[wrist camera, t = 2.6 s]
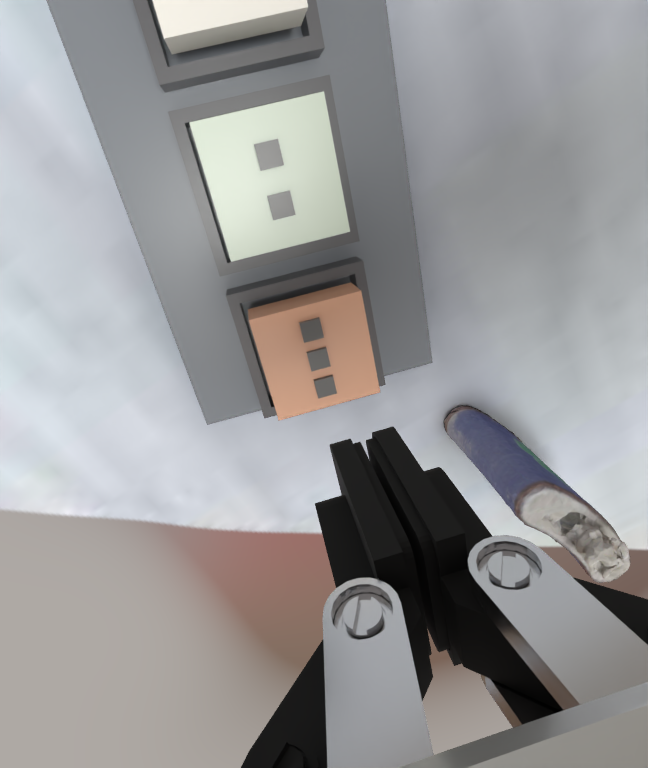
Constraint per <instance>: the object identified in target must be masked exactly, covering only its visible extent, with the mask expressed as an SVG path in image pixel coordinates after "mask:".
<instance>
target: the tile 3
mask: <svg viewBox="0 0 648 768" xmlns="http://www.w3.org/2000/svg"><path fill="white" fill-rule="evenodd" d="M248 318H249V323H250V327H251V330H252V333H253V336H254V340H255V343H256V346H257V350H258V353H259V356H260V360H261V363H262V366H263V370H264V373H265V376H266V380H267V383H268V386H269V390H270V393H271V396H272V400H273V403H274V406H275V410H276V413H277V416H278V420H283V419H286V418H290V417H293V416H297V415H300V414H304V413H308V412H311V411H315V410H318V409H322V408H326V407H329V406H333V405H336V404H340V403H344V402H347V401H351V400H354V399H358V398H361V397H365V396H369V395H372V394H376V393H379V392H380V388H379V383H378V378H377V372H376V367H375V361H374V356H373V351H372V345H371V340H370V335H369V329H368V324H367V319H366V313H365V308H364V303H363V297H362V292H361V290H360V289H358V288H357V287H356V286H355V285H354V284H352V283H351V282H350V283H346V284H343V285H339V286H335V287H331V288H327V289H323V290H320V291H316V292H312V293H308V294H304V295H300V296H297V297H293V298H289V299H285V300H281V301H277V302H274V303H270V304H266V305H262V306H258V307H254V308H251V309H248Z"/></svg>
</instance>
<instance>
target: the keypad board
mask: <svg viewBox="0 0 648 768" xmlns="http://www.w3.org/2000/svg"><path fill="white" fill-rule="evenodd" d="M47 3H48V6H49V8H50V11H51V14H52V16H53V19H54V22H55V24H56V27H57V29H58V32H59V35H60V37H61V40H62V43H63V45H64V48H65V51H66V53H67V56H68V58H69V61H70V64H71V66H72V69H73V72H74V74H75V77H76V80H77V82H78V85H79V88H80V90H81V93H82V95H83V98H84V101H85V103H86V106H87V109H88V111H89V114H90V117H91V119H92V122H93V124H94V127H95V130H96V132H97V135H98V138H99V140H100V143H101V146H102V148H103V151H104V154H105V156H106V159H107V161H108V164H109V167H110V169H111V172H112V175H113V177H114V180H115V183H116V185H117V188H118V190H119V193H120V196H121V198H122V201H123V204H124V206H125V209H126V212H127V214H128V217H129V220H130V222H131V225H132V227H133V230H134V233H135V235H136V238H137V241H138V243H139V246H140V249H141V251H142V254H143V256H144V259H145V262H146V264H147V267H148V270H149V272H150V275H151V278H152V280H153V283H154V286H155V288H156V291H157V293H158V296H159V299H160V301H161V304H162V307H163V309H164V312H165V315H166V317H167V320H168V322H169V325H170V328H171V330H172V333H173V336H174V338H175V341H176V344H177V346H178V349H179V351H180V354H181V357H182V359H183V362H184V365H185V367H186V370H187V373H188V375H189V378H190V381H191V383H192V386H193V388H194V391H195V394H196V396H197V399H198V402H199V404H200V407H201V410H202V412H203V415H204V417H205V420H206V423H207V425H209V424H212V423H216V422H219V421H223V420H227V419H230V418H234V417H238V416H241V415H245V414H248V413H252V412H256V411H259V410H262V412H263V415H264V418H268V417H271V416H275V415H277V413H276V410H275V406H274V403H273V400H272V396H271V393H270V390H269V386H268V383H267V380H266V376H265V373H264V370H263V366H262V363H261V360H260V356H259V353H258V350H257V346H256V343H255V340H254V336H253V333H252V330H251V327H250V323H249V318H248V309H251V308H254V307H258V306H262V305H266V304H270V303H274V302H277V301H281V300H285V299H289V298H293V297H297V296H300V295H304V294H308V293H312V292H316V291H320V290H323V289H327V288H331V287H335V286H339V285H343V284H346V283H350V282H351V283H352V284H354V285H355V286H356V287H357V288H358V289H360V290H361V292H362V297H363V303H364V308H365V313H366V319H367V324H368V329H369V335H370V340H371V345H372V351H373V356H374V361H375V367H376V372H377V378H378V383H379V386H383V385H385V379H384V376H386V375H389V374H393V373H397V372H400V371H404V370H408V369H411V368H415V367H418V366H422V365H426V364H429V363H432V356H431V348H430V340H429V333H428V325H427V317H426V309H425V302H424V294H423V286H422V278H421V271H420V263H419V255H418V247H417V240H416V232H415V224H414V216H413V209H412V201H411V193H410V185H409V178H408V170H407V162H406V154H405V147H404V139H403V131H402V124H401V116H400V108H399V100H398V93H397V85H396V77H395V69H394V62H393V54H392V46H391V38H390V31H389V23H388V15H387V7H386V0H307V3H308V9H307V12H306V14H305V17H304V19H303V22H302V25H301V26H299V27H294V28H290V29H285V30H281V31H276V32H272V33H267V34H263V35H258V36H253V37H249V38H244V39H240V40H235V41H231V42H226V43H222V44H217V45H213V46H208V47H204V48H199V49H195V50H190V51H186V52H181V53H177V54H171V52H170V50H169V48H168V46H167V44H166V42H165V40H164V37H163V34H162V31H161V27H160V24H159V21H158V17H157V14H156V11H155V7H154V4H153V1H152V0H47ZM323 91H324V94H325V99H326V105H327V110H328V115H329V121H330V126H331V132H332V137H333V142H334V148H335V153H336V158H337V164H338V169H339V174H340V180H341V185H342V190H343V196H344V201H345V206H346V212H347V217H348V222H349V228H350V232H347V233H343V234H339V235H335V236H331V237H327V238H323V239H319V240H315V241H311V242H308V243H304V244H300V245H296V246H292V247H288V248H284V249H280V250H276V251H272V252H268V253H264V254H260V255H256V256H252V257H248V258H244V259H240V260H237V261H233V262H231V260H230V257H229V253H228V250H227V247H226V243H225V240H224V237H223V233H222V230H221V227H220V223H219V220H218V217H217V213H216V210H215V207H214V204H213V200H212V197H211V194H210V190H209V187H208V184H207V180H206V177H205V174H204V170H203V167H202V164H201V160H200V157H199V154H198V150H197V147H196V144H195V140H194V137H193V134H192V130H191V127H190V124H189V122H193V121H198V120H202V119H206V118H211V117H215V116H219V115H224V114H228V113H232V112H237V111H241V110H245V109H249V108H254V107H258V106H262V105H267V104H271V103H275V102H280V101H284V100H288V99H293V98H297V97H301V96H306V95H310V94H314V93H319V92H323Z"/></svg>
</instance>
